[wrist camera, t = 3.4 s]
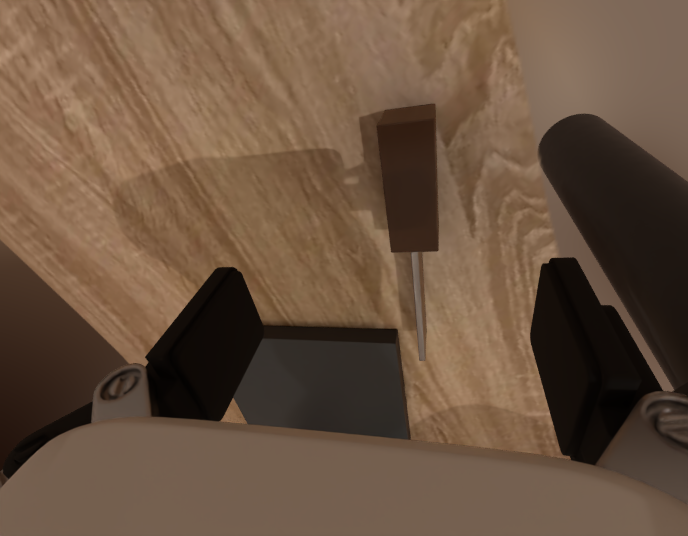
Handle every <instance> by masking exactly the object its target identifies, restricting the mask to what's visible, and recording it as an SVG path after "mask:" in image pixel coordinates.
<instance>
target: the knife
mask: <svg viewBox="0 0 688 536" xmlns="http://www.w3.org/2000/svg"><path fill="white" fill-rule="evenodd" d="M377 133H378V142H379V151H380V159H381V168H382V177H383V185H384V194H385V203H386V211H387V220H388V229H389V237H390V246H391V252H411V260H412V273H413V286H414V298H415V311H416V323H417V336H418V348H419V360H420V361H425V355H426V333H427V328H426V312H425V295H424V278H423V261H422V252H428V251H438V246H439V216H438V180H437V144H436V108H435V104H428V105H421V106H413V107H406V108H398V109H391V110H385V111H384V113H383V115H382V117H381V119H380V121H379V123H378V124H377Z"/></svg>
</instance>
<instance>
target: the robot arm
mask: <svg viewBox="0 0 688 536" xmlns="http://www.w3.org/2000/svg"><path fill="white" fill-rule="evenodd" d="M263 336H264V326H263V324H262V321H261V319H260V316H259V314H258V312H257V309H256V307H255V304H254V302H253V299H252V297H251V295H250V292H249V290H248V287H247V285H246V282H245V280H244V278H243V275H242V273H241V272H240V271H237V269H236V268H234V267H219V268H217V269H215V271H214V272H213V273H212V274H211V276H210V277H209V278H208V279H207V281H206V282H205V283H204V284H203V286H202V287H201V288H200V289H199V291H198V292H197V293H196V294H195V296H194V297H193V298H192V299H191V300H190V302H189V303H188V304H187V305H186V307H185V308H184V309H183V310H182V312H181V313H180V314H179V315H178V317H177V318H176V319H175V320H174V322H173V323H172V324H171V325H170V327H169V328H168V329H167V330H166V332H165V333H164V334H163V335H162V337H161V338H160V339H159V340H158V342H157V343H156V344H155V345H154V347H153V348H152V349H151V350H150V352H149V353H148V354H147V355H146V357H145V358H146V359H147V360H148V362H149V363H148V364H147V365H146V367H145V366H143V365H142V364H138V363H133V364H127V365H125V366H122V367H120V368H118V369H116V370H114V371H112V372H111V373H110V374H109V375H107V376H106V377H105V378H104V379H103V380H102V381H101V382H100V383H99V385H98V386H97V388H96V389H95V392H94V396H93V401H92V402H90V403H89V404H87V405H85V406H83V407H81V408H79V409H77V410H75V411H74V412H71V413H70V414H68V415H66V416H64V417H62V418H60V419H58V420H56V421H54V422H53V423H51V424H49V425H47V426H45V427H43V428H41V429H39V430H38V431H36V432H34V433H32V434H31V435H29V436H28V437H26V438H25V439H23V440H22V441H21V442H20V443H19V444H18V445H17V446H16V447H15V448H14V449H13V450H12V451H11V453H10V454H9V456H8V457H7V459H6V460H5V463H4V466H3V470H2V471H0V536H688V396H686V395H683V394H679V393H674V392H669V391H663V390H662V388H661V387H660V384H659V383H658V381H657V379H656V378H655V376H654V374H653V372H652V371H651V369H650V367H649V365H648V364H647V362H646V360H645V359H644V357H643V355H642V353H641V352H640V350H639V348H638V347H637V345H636V343H635V341H634V340H633V338H632V337H631V335H630V333H629V331H628V329H627V327H626V326H625V324H624V322H623V321H622V319H621V317H620V315H619V314H618V312H617V311H616V309H615V308H614V307H612V306H611V305H601V304H600V302H599V300H598V298H597V297H596V295H595V293H594V291H593V289H592V287H591V285H590V284H589V282H588V280H587V278H586V276H585V274H584V272H583V271H582V269H581V267H580V265H579V263H578V261H577V260H576V259H575V258H551V259H550V261H549V263H544V264H542V266H541V271H540V277H539V283H538V289H537V295H536V301H535V308H534V314H533V320H532V326H531V332H530V339H531V345H532V349H533V353H534V356H535V360H536V363H537V367H538V371H539V374H540V378H541V381H542V385H543V389H544V392H545V396H546V399H547V403H548V407H549V410H550V414H551V418H552V421H553V425H554V428H555V432H556V436H557V439H558V443H559V446H560V450H561V452H562V454H563V455H566V456H570V458H571V460H568V459H563V458H557V457H550V456H544V455H538V454H531V453H524V452H515V451H507V450H498V449H490V448H481V447H473V446H464V445H455V444H445V443H435V442H426V441H416V440H406V439H396V438H386V437H376V436H366V435H356V434H346V433H336V432H325V431H315V430H305V429H294V428H284V427H273V426H262V425H251V424H240V423H229V422H219V421H220V420H221V419H222V418H223V416H224V414H225V412H226V410H227V408H228V406H229V404H230V402H231V400H232V398H233V396H234V394H235V392H236V390H237V388H238V386H239V385H240V383H241V381H242V379H243V377H244V375H245V373H246V371H247V369H248V367H249V365H250V363H251V361H252V359H253V357H254V355H255V353H256V351H257V349H258V347H259V345H260V343H261V341H262V339H263Z"/></svg>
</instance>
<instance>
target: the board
mask: <svg viewBox="0 0 688 536" xmlns="http://www.w3.org/2000/svg"><path fill="white" fill-rule="evenodd" d="M233 398H234V400H235V401H236V403H237V405H238V407H239V409H240V411H241V412H242V414H243V416H244V418H245V420H246V422H247V423H248V424H251V425H262V426H273V427H284V428H294V429H305V430H315V431H325V432H336V433H346V434H356V435H366V436H376V437H386V438H396V439H406V440H410V438H411V437H410V429H409V421H408V413H407V404H406V396H405V388H404V380H403V371H402V363H401V355H400V346H399V338H398V330H389V329H355V328H321V327H287V326H264V336H263V339H262V341H261V343H260V345H259V347H258V349H257V351H256V353H255V355H254V357H253V359H252V361H251V363H250V365H249V367H248V369H247V371H246V373H245V375H244V377H243V379H242V381H241V383H240V385H239V386H238V388H237V390H236V392H235V394H234V396H233Z"/></svg>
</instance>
